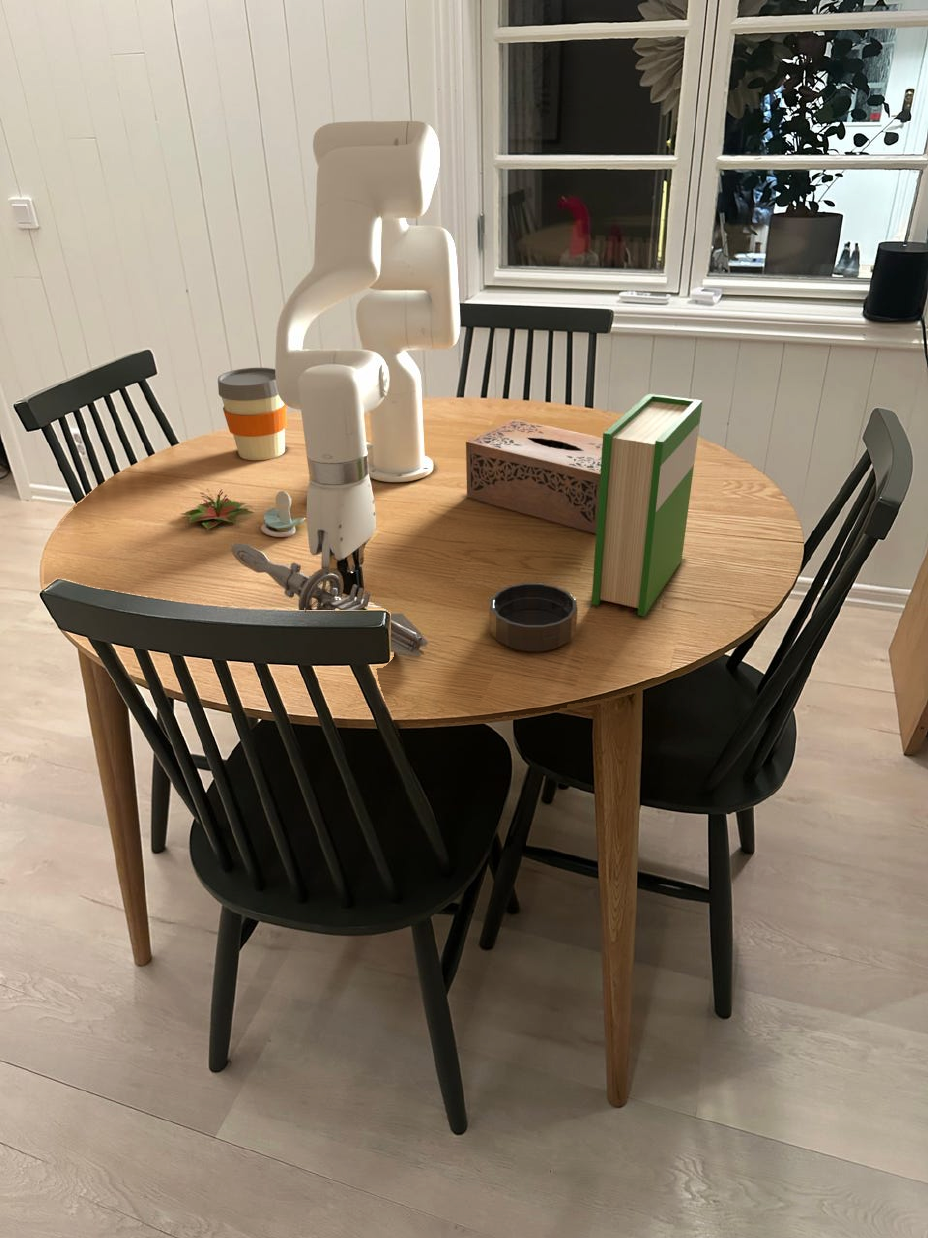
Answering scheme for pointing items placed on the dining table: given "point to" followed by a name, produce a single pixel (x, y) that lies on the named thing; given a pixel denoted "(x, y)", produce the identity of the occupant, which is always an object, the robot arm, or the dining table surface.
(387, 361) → the robot arm
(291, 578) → the spaceship
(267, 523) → the pacifier
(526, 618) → the ashtray
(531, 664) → the dining table surface
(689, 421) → the hardback book
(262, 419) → the reusable coffee cup
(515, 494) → the tissue box cover
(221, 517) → the lily flower
